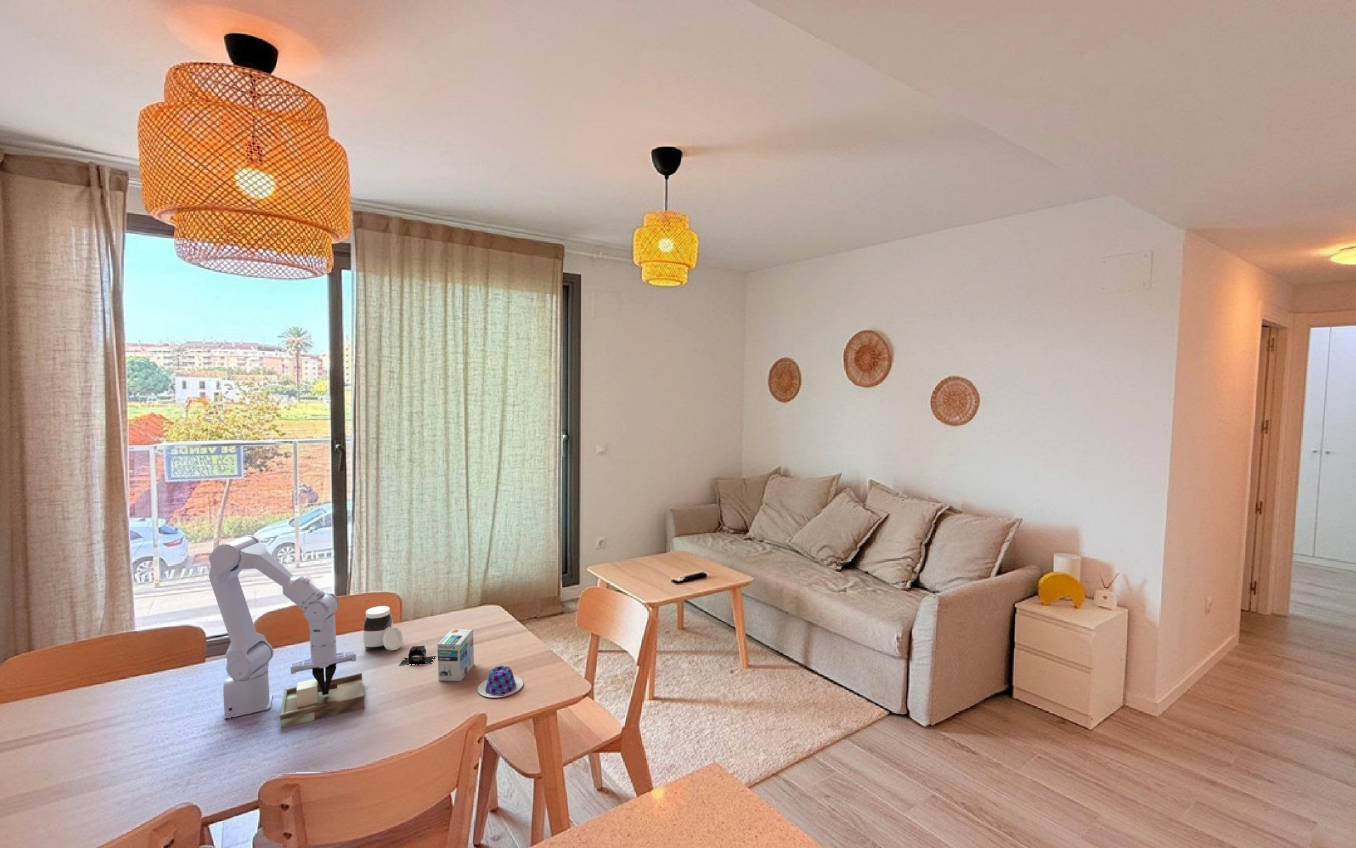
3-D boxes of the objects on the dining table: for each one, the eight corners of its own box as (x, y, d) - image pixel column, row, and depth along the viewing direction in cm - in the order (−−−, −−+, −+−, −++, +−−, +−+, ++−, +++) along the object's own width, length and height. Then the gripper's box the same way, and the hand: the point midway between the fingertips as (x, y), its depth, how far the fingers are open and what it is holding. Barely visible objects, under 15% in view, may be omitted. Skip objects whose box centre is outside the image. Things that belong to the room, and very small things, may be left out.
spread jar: (371, 640, 194) (369, 605, 193) (408, 637, 196) (407, 602, 195) (358, 656, 182) (357, 619, 181) (398, 653, 184) (396, 617, 183)
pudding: (488, 676, 170) (487, 659, 170) (529, 678, 169) (528, 660, 169) (470, 699, 159) (469, 680, 158) (514, 701, 158) (513, 682, 157)
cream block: (297, 707, 150) (296, 690, 150) (298, 699, 154) (297, 682, 154) (317, 702, 152) (316, 686, 152) (318, 694, 156) (317, 678, 156)
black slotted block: (391, 669, 175) (391, 654, 175) (400, 658, 182) (399, 643, 182) (435, 667, 177) (435, 652, 176) (442, 655, 184) (442, 641, 184)
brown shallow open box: (280, 728, 145) (280, 715, 144) (285, 701, 157) (284, 689, 157) (364, 708, 154) (363, 696, 153) (362, 684, 166) (361, 672, 165)
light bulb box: (461, 681, 167) (460, 644, 166) (437, 681, 167) (436, 644, 166) (474, 663, 178) (474, 628, 177) (452, 663, 178) (451, 628, 177)
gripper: (288, 655, 147) (291, 707, 148) (355, 642, 154) (357, 692, 155) (290, 644, 153) (293, 694, 154) (354, 632, 160) (356, 680, 161)
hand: (325, 693), depth 155 cm, fingers closed
